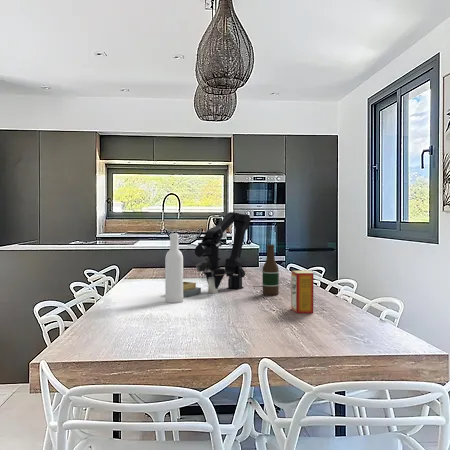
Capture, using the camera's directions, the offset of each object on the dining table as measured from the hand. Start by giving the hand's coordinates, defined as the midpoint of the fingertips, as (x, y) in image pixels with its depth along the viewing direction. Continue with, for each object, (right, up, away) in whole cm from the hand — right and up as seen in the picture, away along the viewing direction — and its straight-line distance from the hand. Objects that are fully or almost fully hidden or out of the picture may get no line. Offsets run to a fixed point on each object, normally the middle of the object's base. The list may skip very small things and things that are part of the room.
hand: (213, 287), depth 238 cm
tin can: (0, -3, 0) cm, 3 cm away
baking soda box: (+37, -4, -45) cm, 58 cm away
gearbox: (-15, -3, -5) cm, 16 cm away
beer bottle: (+28, -3, -5) cm, 28 cm away
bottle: (-16, -3, -24) cm, 29 cm away
